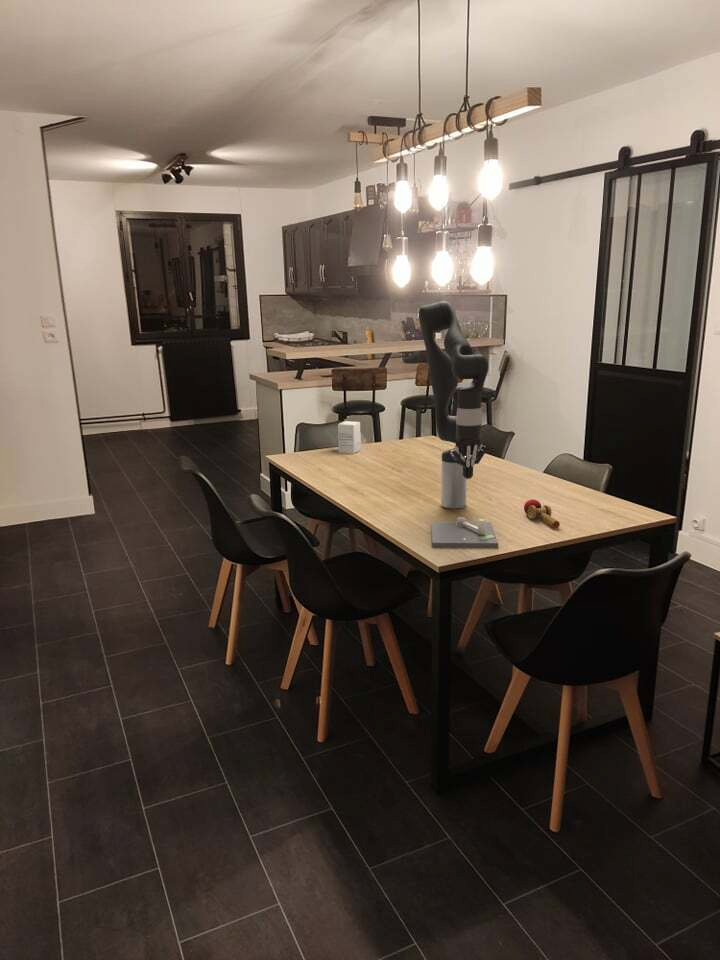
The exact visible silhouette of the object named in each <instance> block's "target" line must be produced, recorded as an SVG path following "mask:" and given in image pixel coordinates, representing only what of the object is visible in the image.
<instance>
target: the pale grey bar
mask: <svg viewBox="0 0 720 960" xmlns="http://www.w3.org/2000/svg"><path fill="white" fill-rule="evenodd" d="M456 522H457V525H459V526H464V525H465V526H467V527H469V528H471V529H473V530H475V531H477V532H478V534H480V535H483V534H485V528H486V519H484V518H479V519H477V522H478V527H476V526H474V525H472V524H470V523H468V522H469V521H467V518H466V517H464V516H457V518H456Z"/></svg>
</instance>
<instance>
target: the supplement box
mask: <svg viewBox="0 0 720 960" xmlns="http://www.w3.org/2000/svg"><path fill="white" fill-rule="evenodd" d="M337 433H338V434H337V438H338V445H337V446H338V453H339V452H350V453H355V452H357V451H359V450H361V451H362V443H361V442H362V439H361V438H362V436H361V433H362V432H361V422H360V421H351V420H349V421H348V420H346V421H345V420H344V421H342V422H340V423H337ZM359 452H360V451H359ZM357 453H358V452H357ZM355 454H356V453H355Z"/></svg>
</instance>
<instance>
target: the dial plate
mask: <svg viewBox="0 0 720 960" xmlns="http://www.w3.org/2000/svg"><path fill="white" fill-rule="evenodd" d="M467 522H468V523H470V524H472V525H474V526H476V527H478V521H475V522H473V521H467ZM495 532H496V531H495V530H494V528H493V525H492V522H488V521H487V522H486V528H485V534H483V535H480V534H478V532H477V531H475V530H473V529H471V528H469V527H467V526H465V525H464V526H459V525H457V521H453V522H452V521H437V522H436V521H431V522H430V533H431V545H432V547H431V548H455V549H456V548H465V549H467V548H469V549H471V548H475V549H476V548H477V549H478V548H480V549H483V548H484V549H486V548H488V549H490V548H491V549H497V548H499V541H498V539H497V536H496V533H495Z"/></svg>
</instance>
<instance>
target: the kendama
mask: <svg viewBox="0 0 720 960" xmlns="http://www.w3.org/2000/svg"><path fill="white" fill-rule="evenodd" d="M523 511H524V513H525V514H526V515H527V516H528V518H529V519H535V518H536V517H541V518H542V519H543V521H545V522H546V523H547V525H549V527H550V528H552V529H553V530H556V528H557V529H558V528H559V527H560V525H561V523H560V521H559V520H557V519H555V518H554V517H552V508H551V506H550V505H545V504H544V505H543V506H542V504H541V502H540V501H539V500H537V499H528V500H527V501H525V503H524V505H523Z"/></svg>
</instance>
